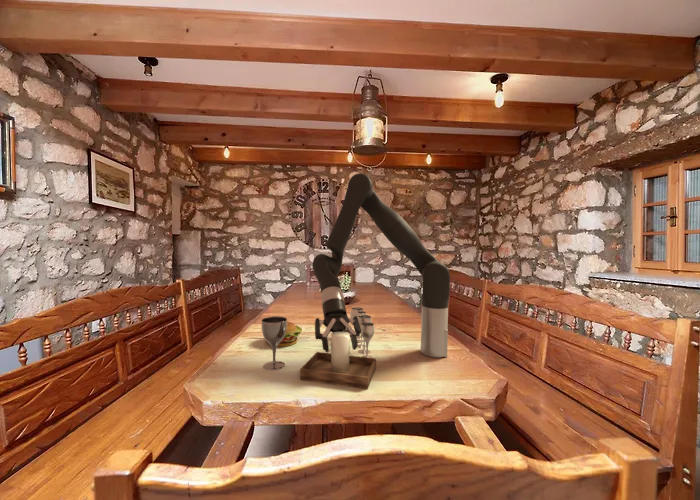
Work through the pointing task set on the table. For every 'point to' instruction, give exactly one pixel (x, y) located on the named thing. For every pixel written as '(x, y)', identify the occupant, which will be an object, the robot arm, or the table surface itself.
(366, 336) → the goblet set
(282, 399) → the table surface
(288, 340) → the food
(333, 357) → the dome-topped cylinder
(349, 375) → the serving tray
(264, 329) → the wine glass
